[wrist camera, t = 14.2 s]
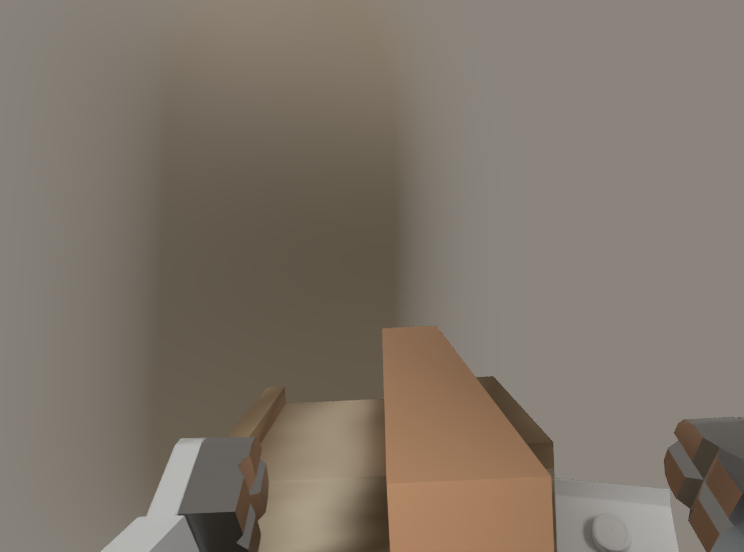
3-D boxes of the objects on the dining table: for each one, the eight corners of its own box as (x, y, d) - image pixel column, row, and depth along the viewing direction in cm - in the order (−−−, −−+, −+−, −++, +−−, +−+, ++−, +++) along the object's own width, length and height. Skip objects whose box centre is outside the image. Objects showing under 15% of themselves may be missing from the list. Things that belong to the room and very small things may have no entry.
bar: (438, 379, 33) (436, 325, 33) (557, 635, 11) (551, 476, 11) (385, 381, 33) (382, 328, 33) (395, 641, 11) (386, 483, 11)
